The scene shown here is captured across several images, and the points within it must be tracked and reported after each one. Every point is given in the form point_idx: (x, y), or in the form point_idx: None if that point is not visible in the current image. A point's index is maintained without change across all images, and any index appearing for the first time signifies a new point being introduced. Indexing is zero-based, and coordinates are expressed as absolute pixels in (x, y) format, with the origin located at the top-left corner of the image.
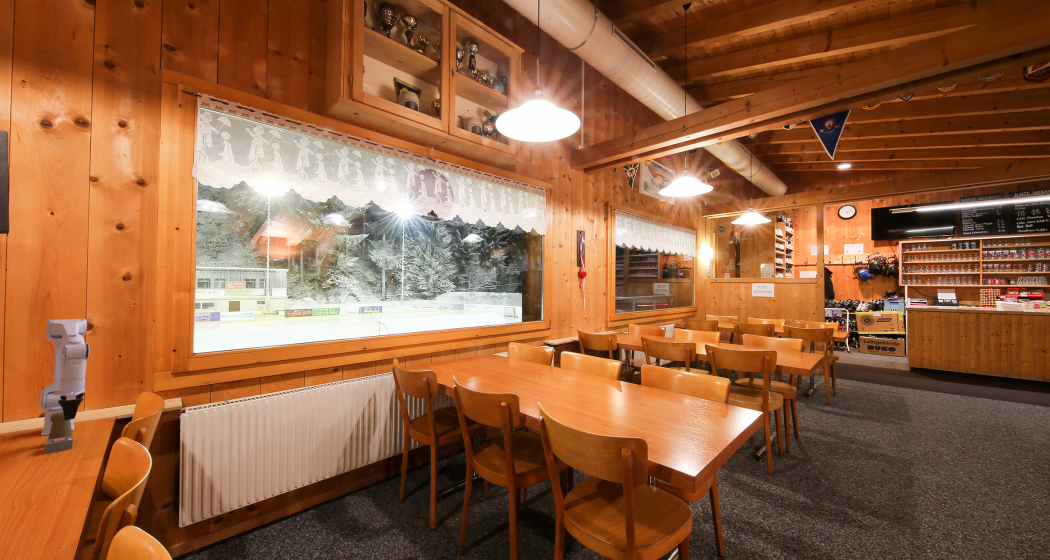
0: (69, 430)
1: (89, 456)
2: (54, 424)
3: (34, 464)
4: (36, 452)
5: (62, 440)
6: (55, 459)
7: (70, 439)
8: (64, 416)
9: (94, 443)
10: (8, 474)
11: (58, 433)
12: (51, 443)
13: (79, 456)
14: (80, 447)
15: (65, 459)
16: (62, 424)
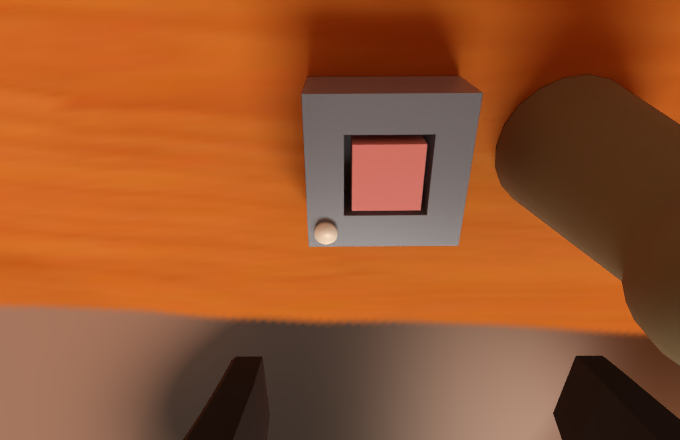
0: (569, 240)
1: (43, 281)
2: (659, 186)
3: (30, 39)
4: (403, 25)
5: (353, 194)
6: (88, 144)
7: (315, 238)
8: (208, 403)
9: (340, 297)
10: None
11: (554, 176)
12: (303, 135)
13: (76, 245)
14: (302, 245)
15: (51, 190)
16: (608, 240)
